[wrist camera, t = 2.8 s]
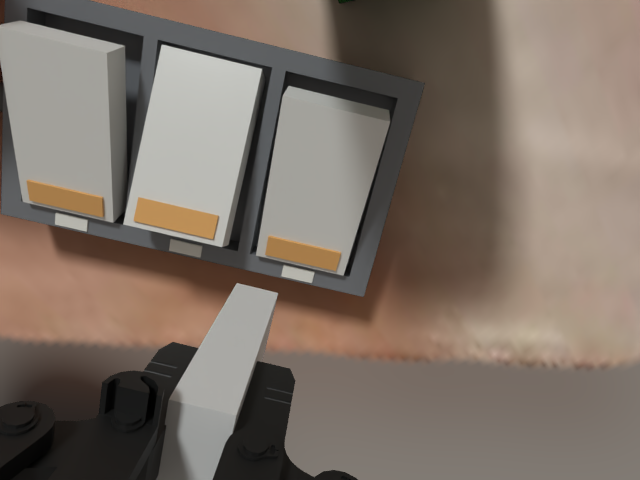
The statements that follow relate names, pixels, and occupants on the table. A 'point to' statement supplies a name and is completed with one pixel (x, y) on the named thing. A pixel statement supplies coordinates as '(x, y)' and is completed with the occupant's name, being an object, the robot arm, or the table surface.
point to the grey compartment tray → (280, 72)
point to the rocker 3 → (319, 178)
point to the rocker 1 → (67, 118)
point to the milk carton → (342, 0)
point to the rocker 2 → (194, 146)
